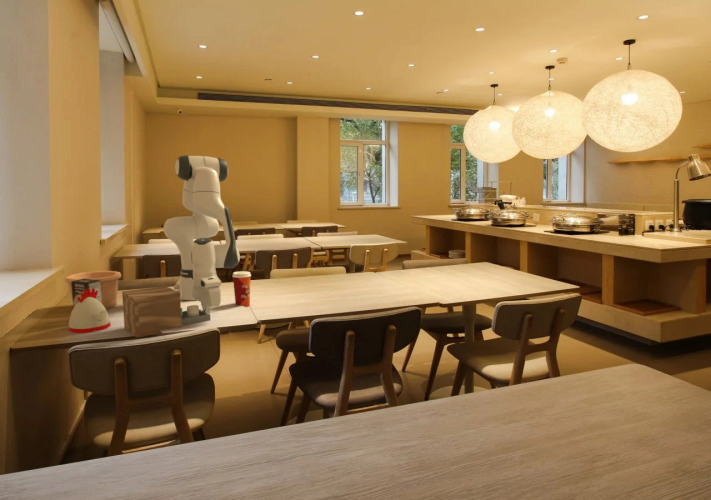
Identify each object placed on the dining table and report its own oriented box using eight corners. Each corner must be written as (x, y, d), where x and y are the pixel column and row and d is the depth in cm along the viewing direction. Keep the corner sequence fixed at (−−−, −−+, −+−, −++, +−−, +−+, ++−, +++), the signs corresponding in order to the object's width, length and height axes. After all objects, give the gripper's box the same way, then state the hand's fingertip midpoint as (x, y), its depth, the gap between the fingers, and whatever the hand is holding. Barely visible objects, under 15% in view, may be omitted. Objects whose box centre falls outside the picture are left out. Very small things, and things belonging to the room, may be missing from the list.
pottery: (73, 303, 226) (71, 272, 225) (126, 299, 233) (124, 269, 231) (61, 314, 206) (58, 281, 204) (119, 310, 213) (117, 277, 211)
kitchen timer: (118, 325, 190) (115, 287, 188) (86, 335, 178) (83, 294, 176) (93, 321, 196) (90, 284, 194) (60, 330, 184) (57, 291, 182)
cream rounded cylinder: (185, 318, 195) (185, 306, 194) (196, 316, 197) (196, 304, 197) (189, 321, 191) (189, 308, 191) (200, 319, 194) (200, 306, 193)
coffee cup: (247, 308, 215) (246, 274, 213) (230, 307, 216) (228, 274, 214) (255, 304, 223) (254, 271, 221) (238, 303, 224) (237, 270, 222)
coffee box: (73, 320, 197) (69, 281, 195) (86, 316, 203) (83, 278, 201) (90, 322, 194) (87, 282, 192) (104, 318, 200) (101, 279, 198)
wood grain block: (124, 327, 186) (122, 291, 184) (167, 320, 196) (165, 285, 194) (136, 337, 174) (134, 299, 172) (181, 329, 184) (179, 292, 182)
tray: (161, 322, 193) (160, 314, 192) (198, 315, 202) (198, 308, 202) (171, 329, 183) (171, 321, 183) (210, 322, 193) (210, 314, 192)
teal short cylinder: (169, 321, 191) (168, 309, 190) (180, 319, 194) (179, 307, 193) (173, 324, 187) (172, 311, 187) (184, 321, 190) (184, 309, 190)
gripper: (187, 276, 202) (189, 309, 204) (207, 284, 186) (209, 319, 188) (202, 275, 206) (203, 307, 207) (223, 282, 190) (224, 317, 192)
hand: (206, 313), depth 198 cm, fingers closed, pressing on tray
